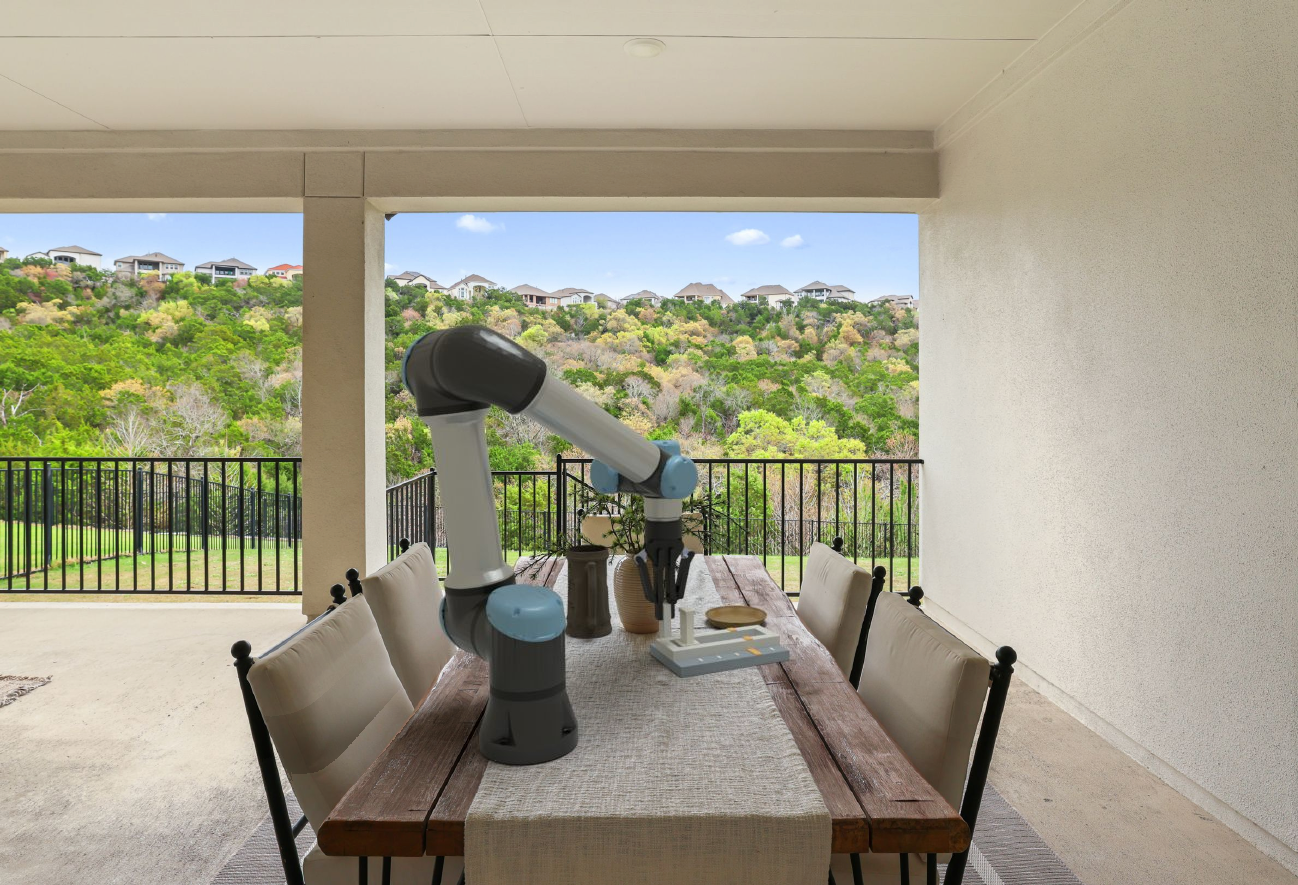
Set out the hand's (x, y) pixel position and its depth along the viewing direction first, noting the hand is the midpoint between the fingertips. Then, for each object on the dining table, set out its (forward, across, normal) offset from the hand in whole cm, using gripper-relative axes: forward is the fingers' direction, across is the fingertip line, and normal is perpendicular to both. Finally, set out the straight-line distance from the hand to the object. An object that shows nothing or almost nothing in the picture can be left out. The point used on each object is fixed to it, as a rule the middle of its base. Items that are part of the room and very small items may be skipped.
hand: (665, 635), depth 151 cm
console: (+6, -12, 0) cm, 13 cm away
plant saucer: (+7, -27, -20) cm, 34 cm away
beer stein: (+6, +7, -26) cm, 28 cm away
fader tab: (+4, -5, 0) cm, 6 cm away
